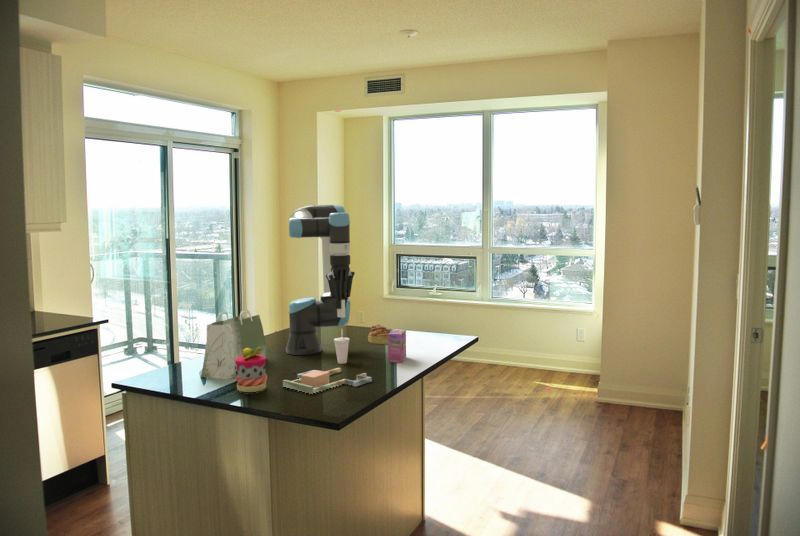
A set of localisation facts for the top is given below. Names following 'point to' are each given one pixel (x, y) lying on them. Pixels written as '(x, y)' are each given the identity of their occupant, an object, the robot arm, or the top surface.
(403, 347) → the box
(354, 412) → the top surface
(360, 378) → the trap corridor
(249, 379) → the cake
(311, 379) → the block
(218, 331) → the grocery bag
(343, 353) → the smoothie
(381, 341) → the pastry
